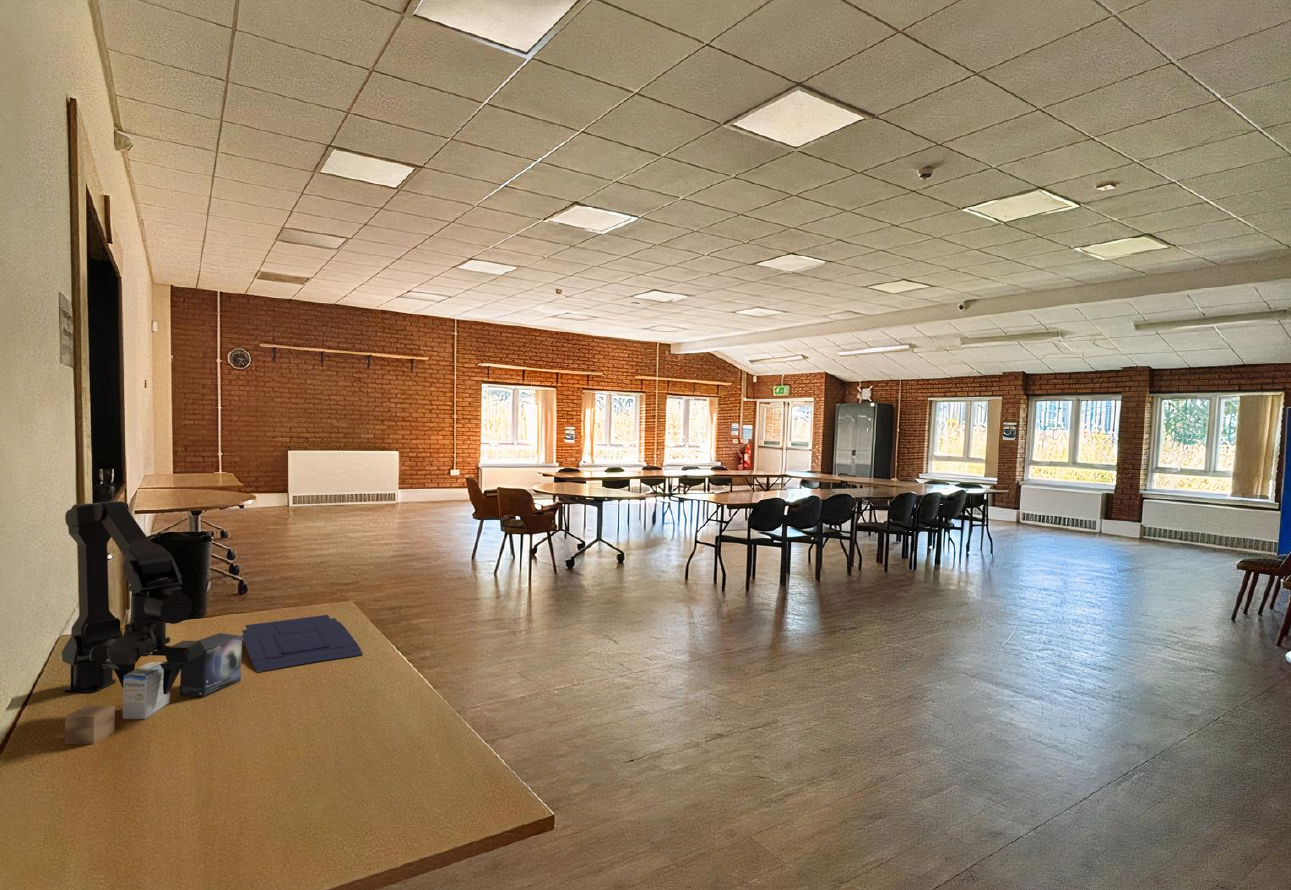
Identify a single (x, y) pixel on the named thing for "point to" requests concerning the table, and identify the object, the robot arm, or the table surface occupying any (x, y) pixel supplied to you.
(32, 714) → the table surface
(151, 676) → the medicine box
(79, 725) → the light brown cube
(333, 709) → the table surface
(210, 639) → the small box
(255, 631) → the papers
